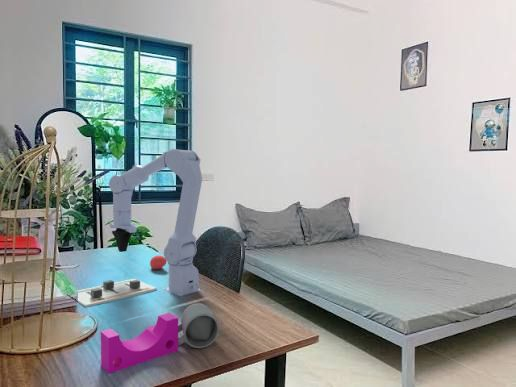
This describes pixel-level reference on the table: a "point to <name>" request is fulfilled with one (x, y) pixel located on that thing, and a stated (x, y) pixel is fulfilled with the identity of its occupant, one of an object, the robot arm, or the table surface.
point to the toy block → (139, 344)
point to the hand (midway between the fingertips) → (122, 251)
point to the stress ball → (157, 262)
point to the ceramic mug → (198, 326)
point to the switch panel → (113, 293)
